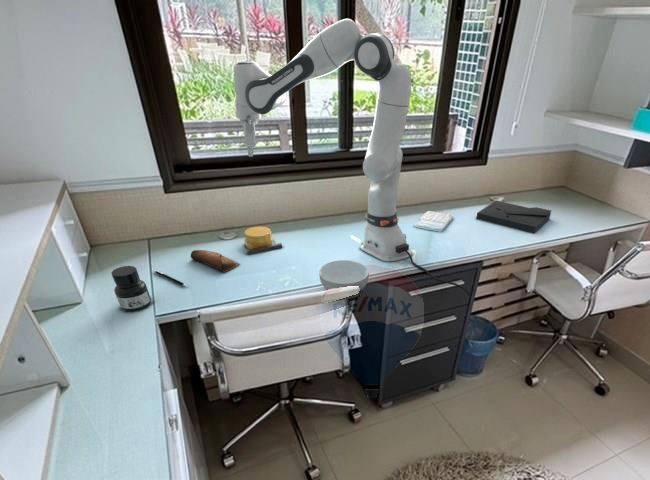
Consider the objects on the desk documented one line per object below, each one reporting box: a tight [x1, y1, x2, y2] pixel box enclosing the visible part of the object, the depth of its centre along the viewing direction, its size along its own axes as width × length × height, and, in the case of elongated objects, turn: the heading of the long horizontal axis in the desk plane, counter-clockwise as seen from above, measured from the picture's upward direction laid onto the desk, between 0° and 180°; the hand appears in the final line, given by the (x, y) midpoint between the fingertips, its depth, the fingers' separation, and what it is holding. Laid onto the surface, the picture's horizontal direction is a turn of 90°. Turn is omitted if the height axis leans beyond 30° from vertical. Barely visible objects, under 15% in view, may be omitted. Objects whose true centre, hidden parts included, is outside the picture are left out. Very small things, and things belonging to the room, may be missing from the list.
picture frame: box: [475, 200, 552, 234], centre depth 197 cm, size 23×4×28 cm
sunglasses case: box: [190, 249, 240, 273], centre depth 152 cm, size 18×7×7 cm
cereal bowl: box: [318, 259, 370, 291], centre depth 138 cm, size 17×17×7 cm
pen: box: [153, 269, 188, 287], centre depth 142 cm, size 1×19×1 cm, turn 56°
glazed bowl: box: [244, 226, 275, 249], centre depth 166 cm, size 11×11×6 cm
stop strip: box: [246, 242, 283, 255], centre depth 163 cm, size 1×14×2 cm, turn 120°
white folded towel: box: [414, 210, 454, 233], centre depth 191 cm, size 13×20×2 cm, turn 155°
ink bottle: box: [111, 265, 152, 312], centre depth 126 cm, size 10×9×12 cm
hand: (250, 151), depth 158 cm, fingers open, 8 cm apart
